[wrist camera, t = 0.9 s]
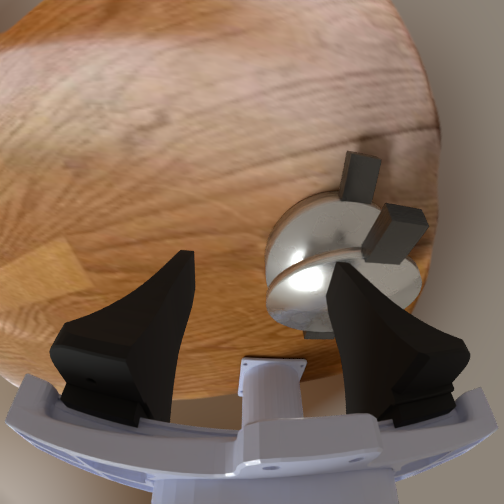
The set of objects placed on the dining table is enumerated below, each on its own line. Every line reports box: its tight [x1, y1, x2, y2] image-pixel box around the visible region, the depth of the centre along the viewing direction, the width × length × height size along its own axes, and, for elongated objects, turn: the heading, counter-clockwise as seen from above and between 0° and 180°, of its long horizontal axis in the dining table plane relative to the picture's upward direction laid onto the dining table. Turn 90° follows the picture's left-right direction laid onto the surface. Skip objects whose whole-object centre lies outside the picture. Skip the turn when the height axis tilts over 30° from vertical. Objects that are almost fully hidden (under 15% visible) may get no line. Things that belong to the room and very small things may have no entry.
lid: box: [266, 203, 429, 332], centre depth 18 cm, size 16×12×2 cm
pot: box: [265, 151, 381, 339], centre depth 22 cm, size 17×12×3 cm
